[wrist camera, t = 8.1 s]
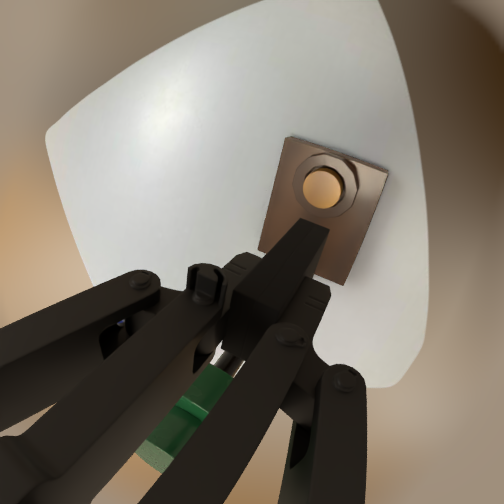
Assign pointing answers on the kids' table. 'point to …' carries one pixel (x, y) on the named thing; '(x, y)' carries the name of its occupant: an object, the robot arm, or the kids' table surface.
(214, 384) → the lamp
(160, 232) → the kids' table surface
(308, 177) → the lamp switch
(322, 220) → the lamp base
